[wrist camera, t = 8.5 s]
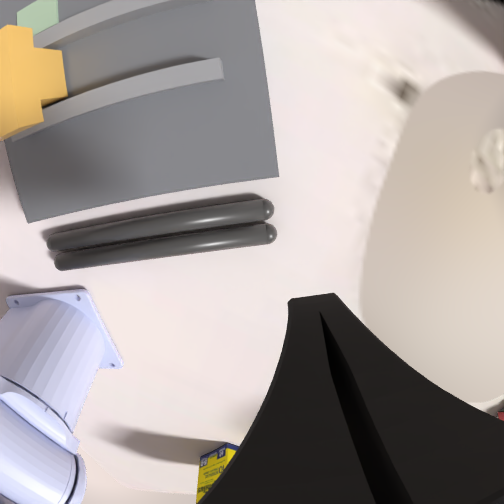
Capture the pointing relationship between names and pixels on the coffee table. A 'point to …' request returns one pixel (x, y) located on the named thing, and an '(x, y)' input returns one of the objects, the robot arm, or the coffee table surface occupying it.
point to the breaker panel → (146, 123)
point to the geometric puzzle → (501, 415)
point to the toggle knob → (26, 80)
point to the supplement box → (213, 467)
